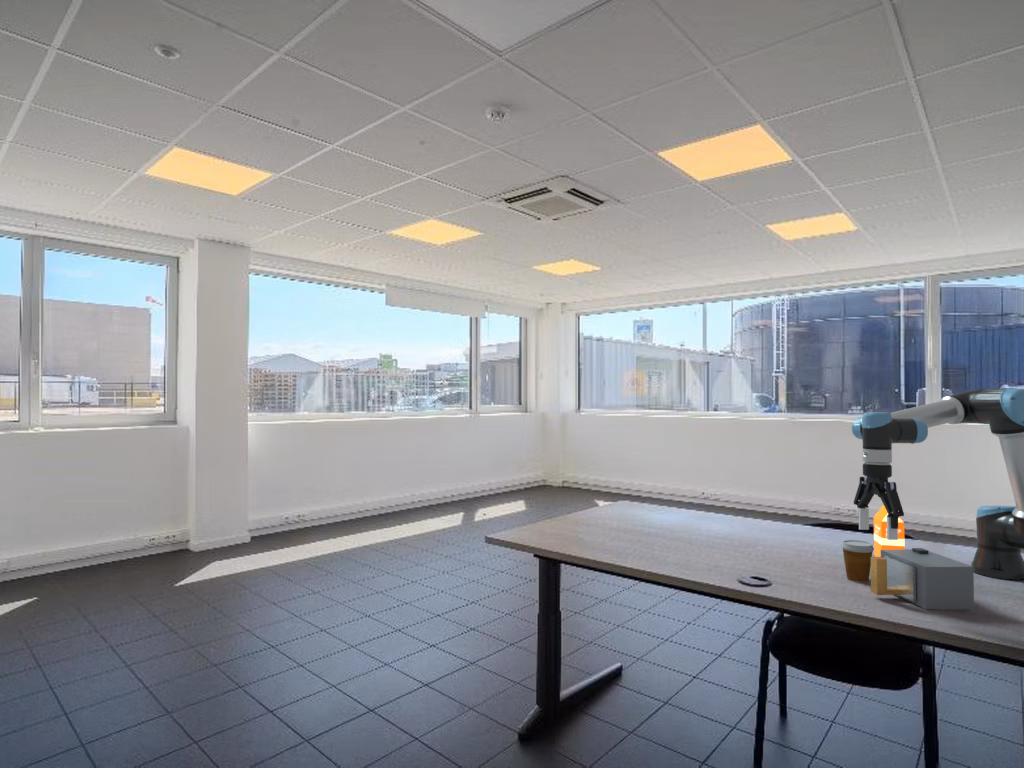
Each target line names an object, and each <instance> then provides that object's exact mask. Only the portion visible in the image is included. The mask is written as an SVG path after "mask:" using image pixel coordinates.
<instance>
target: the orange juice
mask: <svg viewBox="0 0 1024 768" xmlns="http://www.w3.org/2000/svg"><path fill="white" fill-rule="evenodd" d="M892 513H893V512H892ZM887 515H888V512H887V510H886V508H885V506H884V504H883V505H882V506H881V507H880V509H879V510H878V511H877V512H876V513H875V515H874V516H873V517H872V518H873V548H874V550H873V554H874V555H875V556H874V555H873V556H874V557H881V554H880V550H895V549H906V545H905V544H906V539H905V522H904V521H903V520H902V518H901V516H900V517H899V518H898V540H888V539H887Z"/></svg>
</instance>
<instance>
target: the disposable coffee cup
mask: <svg viewBox="0 0 1024 768" xmlns="http://www.w3.org/2000/svg"><path fill="white" fill-rule="evenodd" d="M840 547H841V549H842V552H843V553H842V554H843V559H844V567H845V573H846V579H847V578H848V579H847V580H849V581H851V582H852V581H853V582H856V581H857V583H867V582H869V580H870V576H871V557H873V553H874V544H872V543H871V542H869V541H868V542H867V541H863V540H859V539H858V540H855V539H845V540H842V543H841V545H840Z"/></svg>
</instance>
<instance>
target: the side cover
mask: <svg viewBox="0 0 1024 768" xmlns="http://www.w3.org/2000/svg"><path fill="white" fill-rule="evenodd" d="M870 592H871V593H872V594H874V595H876V596H897V595H900V596H902V597H904V598H906V599H908V600H910V601H912V602H916V567H914V566H911V565H909V564H906V563H904V562H901V561H899V560H896V559H894V558H891V557H889V556H884V558H882V557H876V556H872V557H871V567H870Z"/></svg>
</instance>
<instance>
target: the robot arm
mask: <svg viewBox="0 0 1024 768" xmlns="http://www.w3.org/2000/svg"><path fill="white" fill-rule="evenodd" d="M946 424H948V425H958V424H980V425H981V424H982V425H983V424H984V425H989V429H990V431H991V434H992V435H994V436H996V437H998V440H999V443H1000V447H1001V451H1002V455H1003V459H1004V463H1005V468H1006V471H1007V474H1008V479H1009V482H1010V487H1011V491H1012V495H1013V499H1014V502H1015V505H982V506H979V507H977V508H976V509H977V510H976V516H975V519H976V520H975V521H976V522H975V524H976V547H977V549H976V551H975V553H974V556H973V558H972V559H973V560H972V561H971V563H970V564H971V565H970V566H973V573H975V574H978V575H982V576H984V575H985V576H986V577H989V578H995V579H1000V578H1001V580H1009V579H1012V581H1015V580H1016V581H1018V580H1020V579H1024V558H1023V556H1022V554H1021V553H1022V551H1021V550H1022V549H1023V550H1024V388H1017V387H1003V388H1001V387H1000V388H997V387H996V388H977V389H970V390H967V391H963V392H959V393H954V394H952V395H947V396H944V397H941V398H940V400H938V401H936V402H931V403H926V404H922V405H918V406H913V407H910V408H909V407H908V408H905V409H901V410H896V411H893V412H887V411H886V412H885V411H881V412H879V411H878V412H877V411H867V412H864V413H863V415H862V417H857V418H855V419H854V420H853V421H852V424H851V432H852V435H853V436H854V437H855V438H857V439H858V440H862V461H863V462H864V463H863V464H862V475H863V476H859V482H858V483H859V484H858V487H857V490H856V493H855V496H854V500H853V504H854V505H855V506H856V507H857V509H858V530H860V531H862V530H863V531H864V530H865V531H868V530H870V515H869V514H870V506H869V504H870V503H871V500H872V499H873V497H874V495H875V496H877V497H879V498H880V500H881V501H882V504H883V505H884V506H885V508H886V510H887V512H888V515H887V539H888V540H898V518H899V517H900V518H901V517H904V516H905V513H904V509H903V507H902V503H901V499H900V497H899V494H898V491H897V483H896V481H895V482H894V481H889V478H891V477H892V476H893V466H892V465H891V464H892V462H893V450H892V449H893V446H892V445H893V444H911V445H913V444H919V443H923V442H924V441H925V440H927V438H928V435H929V429H928V428H932V427H936V426H941V425H946ZM892 512H893V513H892ZM985 576H984V577H985ZM1020 581H1021V580H1020Z"/></svg>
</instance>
